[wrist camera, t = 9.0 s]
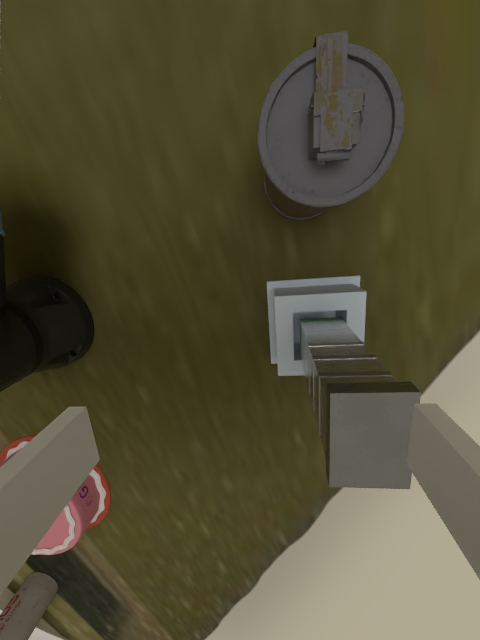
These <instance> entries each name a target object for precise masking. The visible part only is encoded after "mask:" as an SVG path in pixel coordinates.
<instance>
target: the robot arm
mask: <svg viewBox="0 0 480 640" xmlns="http://www.w3.org/2000/svg"><path fill="white" fill-rule="evenodd" d="M4 237H6V234H5V232H4V231H3V227H2V218H1V209H0V391H2V390H4V389H6V388H7V387H9V386H11V385H12V384H14V383H16V382H17V381H19V380H21V379H23V378H24V377H26V376H28V375H29V374H31V373H34V372H39V371H44V370H49V369H54V368H60V367H63V366H66V365H68V364H70V363H72V362H74V361H75V360H77V359H79V358H80V357H81V356H83V355H84V354H85V353H86V352H87V350H88V349H89V347H90V345H91V343H92V339H93V332H94V329H93V321H92V317H91V314H90V312H89V309H88V307H87V306H86V304H85V302H84V301H83V300H82V298H81V297H80V296H79V295H78V294H77V293H76V292H75V291H74V290H73V289H72V288H70V287H69V286H68V285H66V284H64V283H62V282H60V281H58V280H55V279H52V278H47V277H36V278H30V279H24V280H20V281H18V282H15V283H13V284H11V285H10V286H8V287H7V288H6V282H5V255H4ZM99 460H100V458H99V455H98V451H97V447H96V443H95V439H94V435H93V431H92V427H91V423H90V419H89V416H88V412H87V408H86V407H68V408H67V409H66V410H65V411H64V412H63V413H61V414H60V415H59V416H58V417H57V418H56V419H55V420H54V421H52V422H51V423H50V424H49V425H48V426H47V427H46V428H44V429H43V430H42V431H41V432H40V433H39V434H38V435H37V436H35V437H34V438H33V439H32V440H31V441H30V442H29V443H27V444H26V445H25V446H24V447H23V448H22V449H21V450H20V451H18V452H17V453H16V454H15V455H14V456H13V457H12V458H10V459H9V460H8V461H7V462H6V463H5V464H4V465H3V466H1V467H0V596H1V594H2V593H3V592H4V590H5V589H6V587H7V586H8V585H9V583H10V582H11V581H12V579H13V578H14V577H15V575H16V574H17V572H18V571H19V570H20V568H21V567H22V566H23V564H24V563H25V561H26V560H27V559H28V557H29V556H30V555H31V553H32V552H33V550H34V549H35V548H36V546H37V545H38V544H39V542H40V541H41V540H42V538H43V537H44V535H45V534H46V533H47V531H48V530H49V529H50V527H51V526H52V524H53V523H54V522H55V520H56V519H57V518H58V516H59V515H60V513H61V512H62V511H63V509H64V508H65V507H66V505H67V504H68V503H69V501H70V500H71V498H72V497H73V496H74V494H75V493H76V492H77V490H78V489H79V487H80V486H81V485H82V483H83V482H84V481H85V479H86V478H87V476H88V475H89V474H90V472H91V471H92V470H93V468H94V467H95V465H96V464H97V463H98V461H99ZM406 463H407V465H408V466H409V468H410V470H411V471H412V473H413V474H414V476H415V477H416V479H417V480H418V482H419V484H420V485H421V487H422V489H423V490H424V492H425V493H426V495H427V497H428V498H429V500H430V501H431V503H432V505H433V506H434V508H435V509H436V511H437V512H438V514H439V516H440V517H441V519H442V520H443V522H444V524H445V525H446V527H447V528H448V530H449V531H450V533H451V535H452V536H453V538H454V539H455V541H456V543H457V544H458V546H459V547H460V549H461V551H462V552H463V554H464V555H465V557H466V558H467V560H468V562H469V563H470V565H471V566H472V568H473V570H474V571H475V573H476V574H477V576H478V577H479V579H480V446H479V445H478V444H477V443H476V442H475V441H474V440H473V439H472V438H471V437H470V436H468V434H467V433H465V432H464V431H463V430H462V429H461V428H460V427H459V426H458V425H457V424H456V423H455V422H454V421H453V420H452V419H451V418H450V417H449V416H448V415H447V414H446V413H445V412H444V411H443V410H442V409H441V408H440V407H439V406H438V405H437V404H414V409H413V416H412V424H411V431H410V439H409V446H408V454H407V461H406Z"/></svg>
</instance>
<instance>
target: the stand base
mask: <svg viewBox="0 0 480 640" xmlns="http://www.w3.org/2000/svg"><path fill="white" fill-rule="evenodd" d="M267 297H268V315H269V333H270V352H271V364H277V363H278V376H295V375H305V373H304V369H303V365H302V361H301V356H300V323H299V319H307V318H329V317H341V318H342V319H343V320H344V322H345V323H346V324H347V325H348V326H349V327H350V329H351V330H352V331H353V332H354V333H355V334H356V335H357V337H358V338H359V339H360V340H361V341H362V342H364V334H365V312H366V291H365V290H363V289H361V288H360V276H359V275H352V276H337V277H322V278H306V279H291V280H276V281H267Z"/></svg>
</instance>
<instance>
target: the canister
mask: <svg viewBox="0 0 480 640" xmlns="http://www.w3.org/2000/svg"><path fill="white" fill-rule="evenodd" d="M403 125H404V103H403V98H402V93H401V90H400V86H399V83H398V81H397V79H396V77H395V76H394V74H393V72H392V71H391V69H390V67H389V65H388V64H387V63H386V62H385V61H383V60H382V59H381V58H380V57H379V56H378V55H376V54H375V53H374V52H373V51H372V50H369V49H367V48H364V47H362V46H360V45H357V44H351V43H348V31H341V32H334V33H327V34H320V35H316V38H315V42H314V47H313V48H312V49H310V50H307V51H305V52H303V53H302V54H300V55H299V56H297V57H296V58H295V59H293V60H292V61H291V62H290V63H289V64H288V65H287V66H286V67H285V68H284V69H283V71H282V72H281V73H280V74H279V75H278V76H277V78H276V79H275V80H274V81H273V83H272V85H271V87H270V89H269V91H268V93H267V95H266V97H265V99H264V101H263V104H262V108H261V112H260V116H259V123H258V130H257V141H258V150H259V155H260V158H261V162H262V165H263V168H264V178H263V182H264V190H265V193H266V196H267V199H268V201H269V202H270V204H271V205H272V206H273V208H274V209H275V210H276V211H277V212H279V213H280V214H281V215H283V216H285V217H287V218H290V219H294V220H306V219H311V218H314V217H316V216H318V215H321V214H322V213H323V212H325V211H326V210H327V209H329V208H331V207H333V206H337V205H341V204H344V203H347V202H349V201H351V200H353V199H355V198H357V197H359V196H360V195H362V194H363V193H365V192H366V191H368V190H369V189H370V188H371V187H372V186H373V185H374V184H376V183H377V182H378V180H379V179H380V178H381V177H382V175H383V174H384V173H385V172H386V170H387V169H388V168H389V166H390V164H391V162H392V160H393V158H394V156H395V154H396V152H397V150H398V147H399V144H400V140H401V137H402V134H403Z"/></svg>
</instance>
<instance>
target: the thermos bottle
mask: <svg viewBox="0 0 480 640" xmlns="http://www.w3.org/2000/svg"><path fill="white" fill-rule="evenodd" d="M57 590H58V585H57V583H56V581H55V580H54V579H53V578H52V577H50V576H49V575H47V574H44V573H40V572H34V573H31V574H30V575H29V576H28V577H27V578H26V580H25V581H24V583H23V584H22V585H21V587H20V588H19V589H18V591H17V592H16V594H15V595H14V596H13V598H12V599H11V601H10V602H9V603H8V605H7V606H6V608H5V609H4V610H3V612H2V613H1V615H0V640H28V639H29V637H30V635H31V634H32V632H33V630H34V629H35V627H36V625H37V624H38V622H39V621H40V619H41V617H42V616H43V614H44V612H45V611H46V609H47V607H48V606H49V604H50V602H51V601H52V599H53V597H54V596H55V594H56V592H57Z"/></svg>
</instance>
